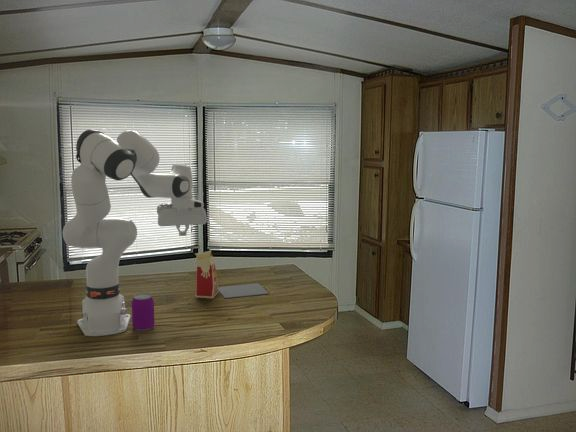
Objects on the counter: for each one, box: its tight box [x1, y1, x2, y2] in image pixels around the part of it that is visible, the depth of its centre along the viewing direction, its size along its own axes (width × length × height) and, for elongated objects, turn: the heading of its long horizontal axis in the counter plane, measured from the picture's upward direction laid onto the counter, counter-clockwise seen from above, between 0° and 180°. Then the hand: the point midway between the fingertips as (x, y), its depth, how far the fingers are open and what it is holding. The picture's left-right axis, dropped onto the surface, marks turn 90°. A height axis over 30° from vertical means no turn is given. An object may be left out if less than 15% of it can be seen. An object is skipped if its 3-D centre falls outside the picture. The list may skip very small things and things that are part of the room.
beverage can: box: [131, 292, 155, 332], centre depth 189 cm, size 8×8×12 cm
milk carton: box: [194, 250, 220, 299], centre depth 227 cm, size 9×9×20 cm
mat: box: [218, 282, 270, 299], centre depth 235 cm, size 16×20×1 cm
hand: (182, 235), depth 221 cm, fingers closed
